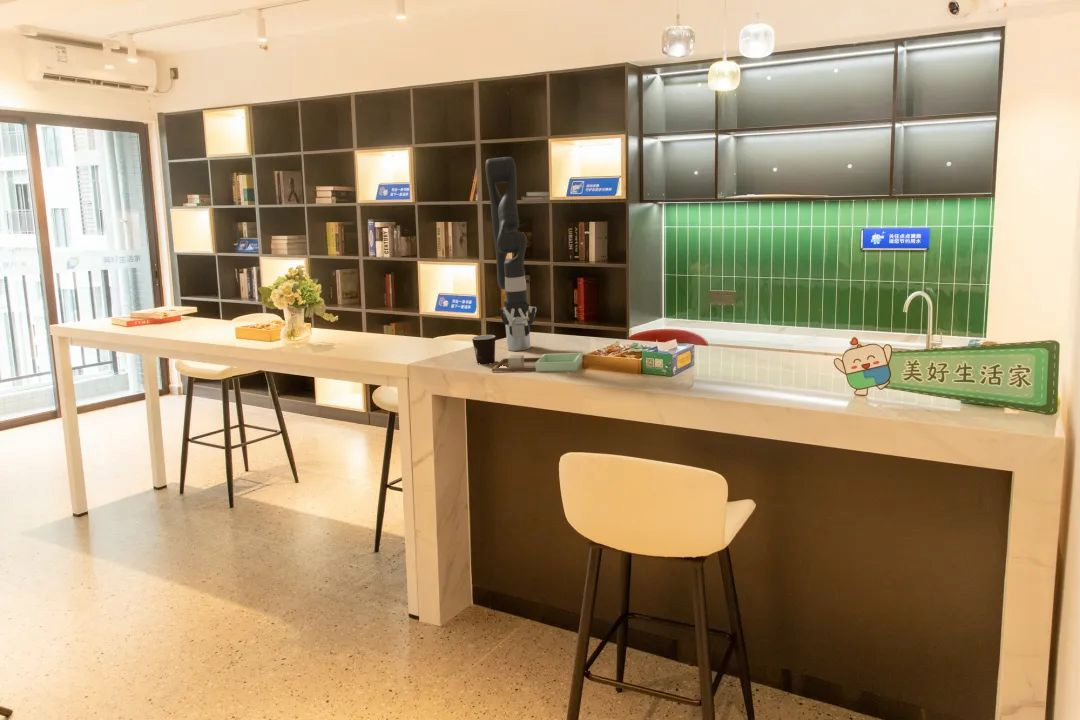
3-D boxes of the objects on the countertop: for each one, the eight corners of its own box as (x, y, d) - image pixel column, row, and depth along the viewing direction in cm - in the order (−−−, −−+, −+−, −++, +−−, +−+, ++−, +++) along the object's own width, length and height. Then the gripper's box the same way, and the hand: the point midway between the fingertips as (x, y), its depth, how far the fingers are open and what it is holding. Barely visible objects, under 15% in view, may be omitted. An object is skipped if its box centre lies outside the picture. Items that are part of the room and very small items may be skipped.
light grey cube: (512, 367, 296) (511, 355, 295) (524, 367, 295) (523, 354, 294) (509, 370, 291) (508, 358, 290) (521, 370, 290) (520, 357, 289)
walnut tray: (503, 362, 306) (503, 358, 306) (546, 361, 303) (545, 357, 302) (492, 373, 291) (491, 369, 291) (536, 372, 288) (536, 367, 287)
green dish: (544, 363, 300) (543, 354, 299) (582, 362, 297) (581, 352, 296) (535, 372, 287) (535, 363, 286) (575, 371, 283) (574, 361, 283)
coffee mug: (496, 365, 303) (494, 338, 301) (473, 367, 303) (470, 340, 301) (499, 358, 314) (496, 332, 312) (476, 360, 315) (473, 334, 313)
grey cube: (515, 334, 301) (514, 322, 300) (527, 334, 300) (526, 322, 299) (512, 337, 297) (511, 325, 296) (524, 337, 296) (523, 324, 295)
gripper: (537, 286, 297) (541, 332, 301) (499, 287, 300) (503, 333, 304) (533, 289, 290) (537, 337, 294) (493, 291, 293) (498, 338, 297)
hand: (520, 335), depth 299 cm, fingers closed on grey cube, 4 cm apart
